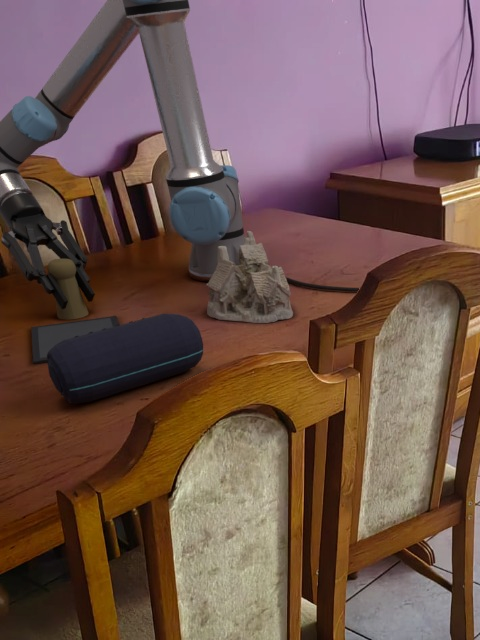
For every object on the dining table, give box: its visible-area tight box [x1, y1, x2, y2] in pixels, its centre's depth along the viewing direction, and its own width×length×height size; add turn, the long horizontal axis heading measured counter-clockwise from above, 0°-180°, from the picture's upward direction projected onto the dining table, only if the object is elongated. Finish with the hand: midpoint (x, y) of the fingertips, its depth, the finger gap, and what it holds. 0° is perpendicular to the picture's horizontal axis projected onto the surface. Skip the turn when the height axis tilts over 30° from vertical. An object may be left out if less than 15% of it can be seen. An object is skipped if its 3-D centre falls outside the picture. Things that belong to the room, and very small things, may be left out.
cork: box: [47, 258, 89, 321], centre depth 167 cm, size 6×6×11 cm
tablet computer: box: [30, 315, 120, 365], centre depth 158 cm, size 16×20×1 cm
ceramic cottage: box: [206, 230, 294, 324], centre depth 165 cm, size 16×16×15 cm
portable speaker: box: [47, 313, 204, 405], centre depth 136 cm, size 25×10×10 cm, turn 133°
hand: (78, 301), depth 166 cm, fingers closed on cork, 5 cm apart
